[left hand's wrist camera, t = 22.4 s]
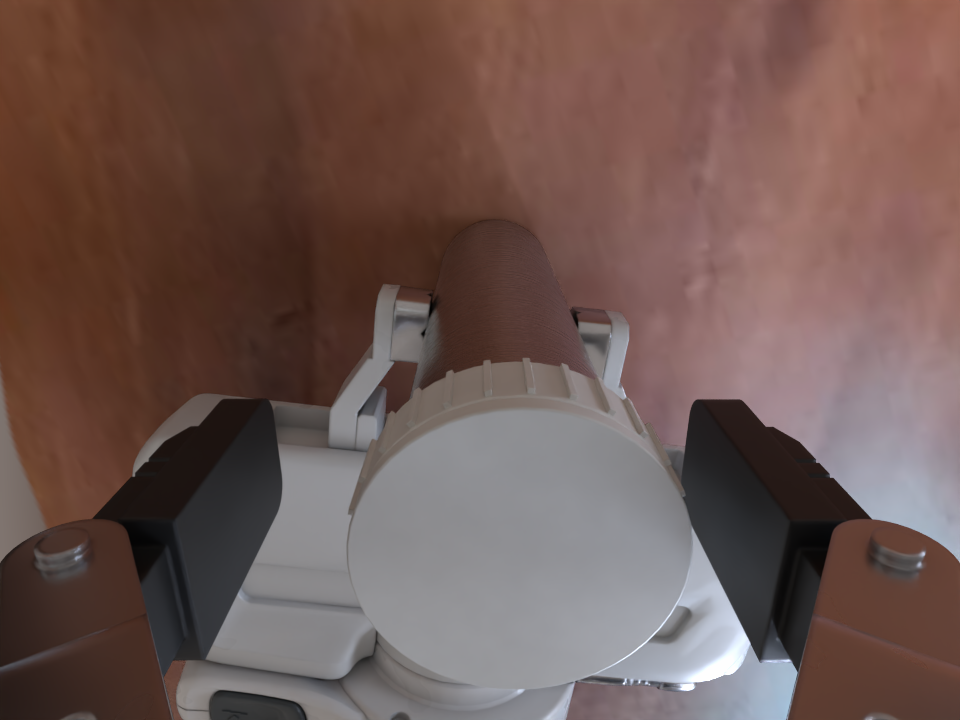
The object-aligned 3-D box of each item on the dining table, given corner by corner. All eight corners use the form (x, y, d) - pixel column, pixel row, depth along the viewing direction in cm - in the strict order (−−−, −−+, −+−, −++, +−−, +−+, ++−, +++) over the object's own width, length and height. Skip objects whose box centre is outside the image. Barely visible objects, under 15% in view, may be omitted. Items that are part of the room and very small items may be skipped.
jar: (458, 336, 26) (427, 657, 11) (427, 236, 24) (343, 450, 9) (559, 309, 25) (671, 606, 11) (534, 206, 24) (624, 380, 9)
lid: (453, 295, 10) (447, 333, 8) (730, 446, 10) (774, 506, 9) (311, 544, 11) (283, 615, 10) (562, 654, 12) (573, 735, 11)
